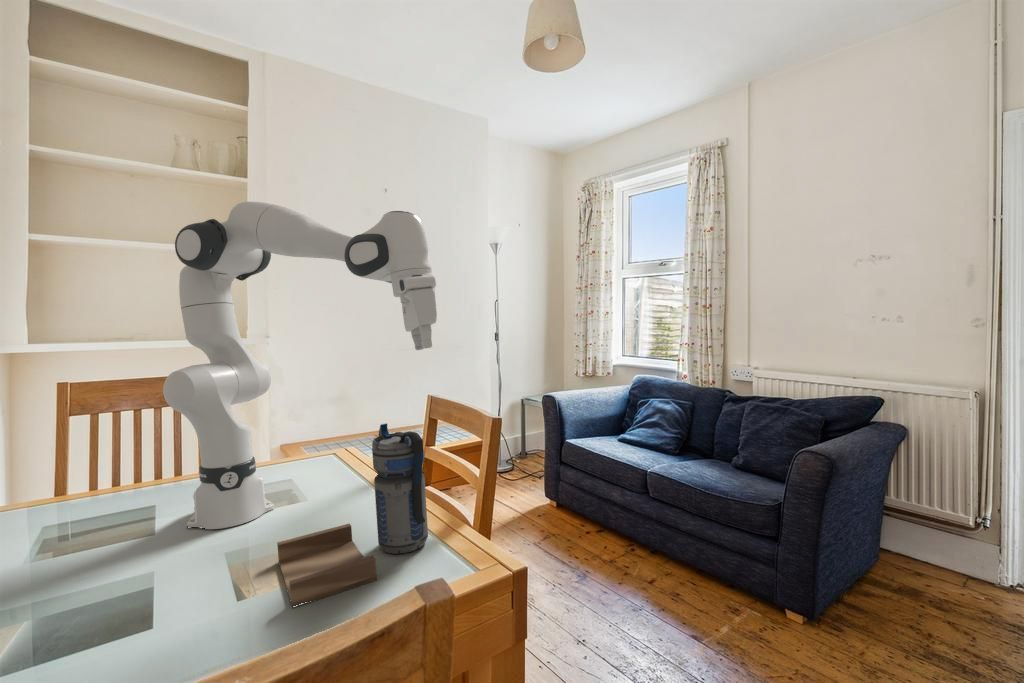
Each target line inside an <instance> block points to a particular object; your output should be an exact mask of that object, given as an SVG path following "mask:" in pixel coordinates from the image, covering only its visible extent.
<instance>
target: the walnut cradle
mask: <svg viewBox="0 0 1024 683" xmlns="http://www.w3.org/2000/svg"><path fill="white" fill-rule="evenodd" d="M352 532H353V531H352V525H351V524H350V523H346V524H341V525H337V526H335V527H331V528H328V529H327V528H326V529H323V530H319V531H317V532H316V531H315V532H312V533H308V534H303V535H301V536H297V537H293V538H289V539H285V540H281V541H277V542H276V544H277V546H276V547H277V555H278V564H279V568H280V571H281V574H282V579H283V582H284V585H285V589H286V588H287V589H286V591H287V590H288V592H287V595H288V594H289V595H288V598H289V597H290V599H289V601H290V600H291V602H290V604H292V606H291V608H292V607H293V606H296V605H299V604H301V603H305V602H310V601H313V602H315V601H314V600H316V601H318V599H319V600H321V599H324V598H328V597H330V596H334V595H336V594H339V593H342V592H344V591H348V590H352V589H354V588H357V587H360V586H363V585H366V584H369V583H373V582H376V581H377V580H378V579H377V567H376V557H375V556H374V555H369V556H366V557H364V556H363V554H362V552H361V551H360V550H359V548H358V547H357V545H356V544H355V542H354V540H353V533H352ZM310 603H311V602H310Z"/></svg>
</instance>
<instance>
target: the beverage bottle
mask: <svg viewBox="0 0 1024 683" xmlns="http://www.w3.org/2000/svg"><path fill="white" fill-rule="evenodd" d="M371 446H372V451H371V452H372V453H371V454H372V467H373V470H374V471H375V473H377V474H376V476H375V477H374V478H373V479H374V480H373V481H374V482H373V483H374V498H375V512H376V525H377V526H376V529H377V542H378V545H379V547H380V548H381V550H382V551H383V552H386V553H388V554H393V555H395V554H406V553H409V552H413V551H416V550H418V549H420V548H421V547H423V546H424V545H425V544H426V542H427V539H428V537H429V527H428V525H429V524H428V514H427V495H426V481H425V480H426V479H425V478H426V477H425V471H424V470H423V464H424V461H425V450H424V439H423V438H422V437H421V435H419V433H417V432H416V431H411V430H409V431H405V432H401V431H396V432H395V433H393V432H392V433H389V429H388V423H381V424H380V425H379V430H378V436H377V437H374V438H373V440H372V444H371Z"/></svg>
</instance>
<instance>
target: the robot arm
mask: <svg viewBox="0 0 1024 683" xmlns="http://www.w3.org/2000/svg"><path fill="white" fill-rule="evenodd" d="M174 250H175V254H176V256H177V258H178V259H179V261H180V262H181V263H182V264H184V265H185V266H183V267H182V269H181V270H180V273H179V280H178V281H179V282H178V283H179V284H178V288H179V289H178V291H179V292H178V293H179V295H178V296H179V305H180V309H181V310H180V311H181V316H182V322H183V326H184V327H183V328H184V333H185V338H186V340H187V342H189V344H190V345H192V346H193V347H195V348H197V349H199V350H201V351H202V352H203V353H204V354H205V355H206V356H207V359H208V360H209V362H210V363H203V364H201V363H200V364H193V365H190V366H187V367H183V368H180V369H177V370H175V371H173V372H171V373H170V374H168V375H167V377H166V379H165V381H164V383H163V386H162V388H163V389H162V393H163V397H164V400H165V402H166V403H167V405H168V406H169V407H170V408H172V410H174V411H176V412H178V413H180V414H182V415H183V416H184V417H185V418H186V419H187V420H188V421H189V422H190V424H191V425H192V427H193V429H194V431H195V433H196V437H197V440H198V448H199V456H200V466H199V471H198V474H199V481H200V482H201V483H200V484H199V485H198V487H197V488H196V490H195V491H194V492H193V495H192V496H193V502H194V506H193V507H194V513H193V514H192V516H191V517H190V518H189V520H188V521H187V522H186V526H188V527H202V528H205V529H204V530H218V529H227V528H231V527H235V526H239V525H243V524H245V523H248V522H251V521H253V520H255V519H257V518H259V517H261V516H262V515H264V514H265V513H267V512H269V511H271V510H273V509H274V508H275V504H274V503H273V502H271V501H270V500H269V499H267V497H266V493H265V486H264V479H263V478H262V477H261V476H259V475H258V474H257V473H256V471H257V468H256V465H257V462H256V458H255V457H254V454H253V443H252V431H251V428H250V427H249V425H248V424H247V423H245V422H244V421H241V420H237V419H236V417H235V416H234V414H233V412H232V411H233V410H232V408H231V405H232V406H233V405H236V404H241V403H245V402H246V403H247V402H250V401H252V400H254V399H256V398H259V397H260V396H262V395H264V394H266V392H268V391H269V389H270V386H271V381H272V380H271V373H270V371H269V369H268V367H267V366H266V364H265V363H263V362H261V361H260V360H258V359H257V358H256V357H254V355H252V353H251V352H250V351H249V349H248V347H247V345H246V343H245V342H244V340H243V338H242V336H241V333H240V329H239V325H238V320H237V315H236V310H235V306H234V299H233V295H232V288H231V287H232V284H233V281H234V280H235V279H237V280H238V281H241V282H242V281H245V280H246V279H248V278H250V277H252V276H254V275H257V274H259V273H261V272H263V271H264V270H265V269H266V268H268V266H269V264H270V261H271V258H272V254H275V255H278V256H279V255H280V256H285V257H295V258H308V259H309V258H313V259H329V260H337V261H341V262H345V265H346V268H347V270H348V271H350V273H351V274H353V275H354V276H357V277H359V278H364V279H369V280H374V281H375V280H376V281H381V282H386V283H389V284H391V287H392V294H393V297H395V298H399V299H400V304H401V309H402V317H403V325H404V329H405V332H407V333H409V332H410V333H411V334H410V335H411V339H412V340H413V344H414V349H415V351H420V350H421V351H422V350H424V349H431V348H432V347H433V343H432V342H433V341H432V333H433V332H432V325H434V324H436V322H437V320H438V318H437V316H438V314H437V313H438V312H437V303H436V293H435V291H436V289H435V288H436V286H437V281H436V277H435V276H434V275H433V272H432V266H431V264H430V262H429V259H428V256H429V247H428V241H427V237H426V232H425V228H424V225H423V223H422V220H421V218H420V217H419V216H417V215H416V214H415V213H412V212H409V211H404V210H393V211H388V212H385V214H383V215H382V217H381V219H380V220H379V221H378V222H377V223H376V224H375V225H374V226H372V227H371V228H369V229H368V230H366V231H364V232H362V233H361V234H356V235H355V236H349V235H345V234H343V233H340V232H338V231H336V230H334V229H332V228H330V227H328V226H325V225H324V224H322V223H319V222H318V221H316V220H314V219H311V217H308V216H306V215H304V214H302V213H300V212H298V211H296V210H293V209H291V208H287V207H285V206H282V205H277V204H274V203H268V202H264V201H263V202H261V201H242V202H238V203H237V204H236V205H234V206H233V207H232V209H231V210H230V213H229V215H228V218H227V220H225V221H223V222H219V221H218V220H217V219H215V218H211V219H207V220H205V221H203V222H202V221H201V222H195V223H191V224H188V225H186V226H184V227H182V228H181V229H180V230H179V232H178V233H177V235H176V237H175V241H174ZM202 528H201V529H202Z"/></svg>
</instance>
